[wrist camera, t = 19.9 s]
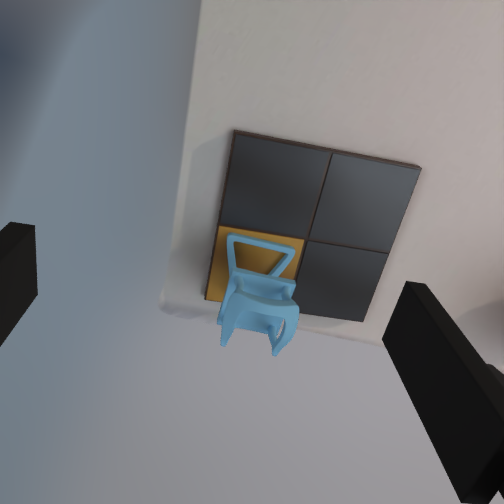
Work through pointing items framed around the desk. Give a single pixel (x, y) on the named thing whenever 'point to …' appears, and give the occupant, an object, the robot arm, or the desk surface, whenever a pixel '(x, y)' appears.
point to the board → (311, 220)
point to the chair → (259, 297)
